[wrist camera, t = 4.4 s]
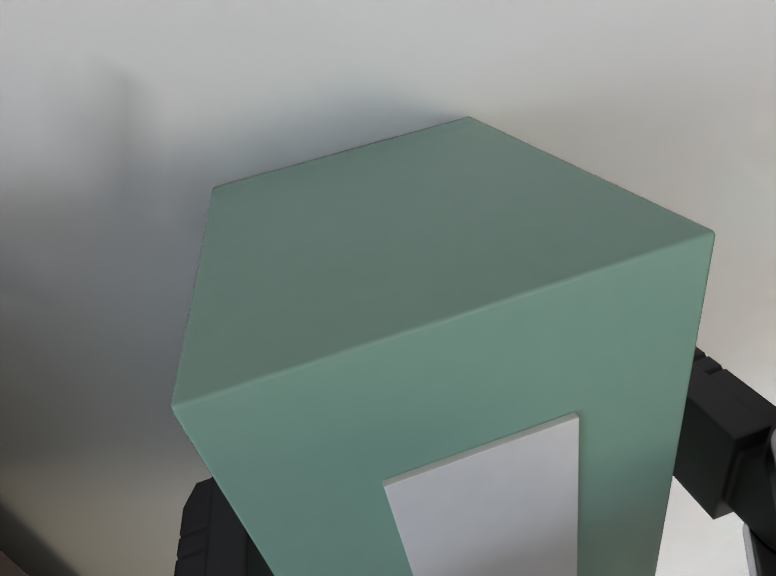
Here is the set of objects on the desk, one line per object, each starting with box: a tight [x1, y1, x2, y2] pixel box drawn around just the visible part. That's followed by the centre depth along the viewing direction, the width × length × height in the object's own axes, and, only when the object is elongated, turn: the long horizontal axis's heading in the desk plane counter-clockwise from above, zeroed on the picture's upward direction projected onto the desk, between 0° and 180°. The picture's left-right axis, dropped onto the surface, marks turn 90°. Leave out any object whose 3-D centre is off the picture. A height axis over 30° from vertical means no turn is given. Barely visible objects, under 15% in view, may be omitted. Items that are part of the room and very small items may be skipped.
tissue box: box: [171, 117, 715, 576], centre depth 10 cm, size 6×11×7 cm, turn 12°
